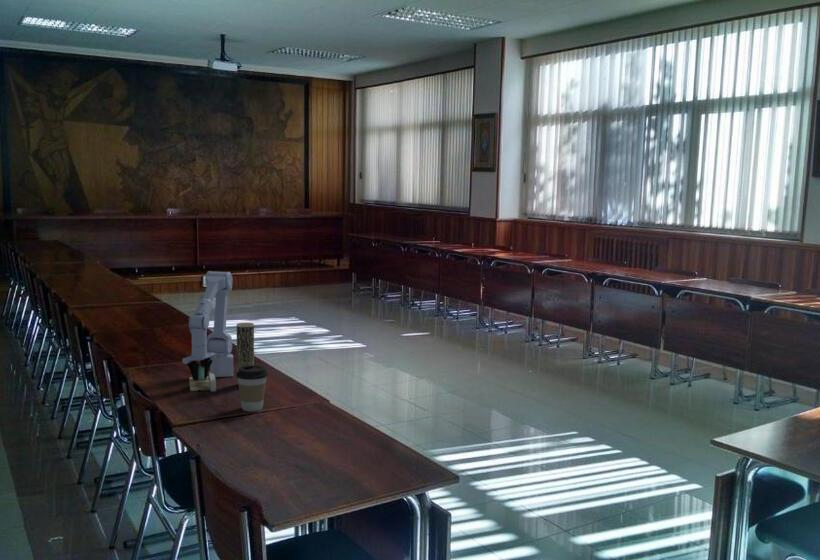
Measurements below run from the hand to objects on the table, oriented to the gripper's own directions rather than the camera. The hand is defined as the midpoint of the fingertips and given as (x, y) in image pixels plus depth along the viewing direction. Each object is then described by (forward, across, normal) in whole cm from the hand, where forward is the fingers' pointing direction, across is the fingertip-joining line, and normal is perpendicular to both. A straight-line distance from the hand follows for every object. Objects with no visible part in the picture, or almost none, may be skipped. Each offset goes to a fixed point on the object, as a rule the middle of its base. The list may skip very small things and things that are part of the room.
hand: (199, 378), depth 294 cm
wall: (+4, -4, +3) cm, 6 cm away
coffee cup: (+4, +4, +36) cm, 36 cm away
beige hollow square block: (+4, 0, 0) cm, 4 cm away
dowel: (+3, 0, 0) cm, 3 cm away
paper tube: (+4, -15, +10) cm, 18 cm away
